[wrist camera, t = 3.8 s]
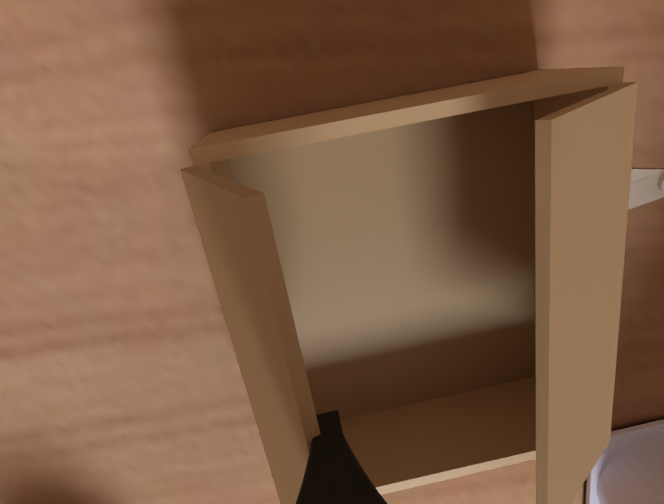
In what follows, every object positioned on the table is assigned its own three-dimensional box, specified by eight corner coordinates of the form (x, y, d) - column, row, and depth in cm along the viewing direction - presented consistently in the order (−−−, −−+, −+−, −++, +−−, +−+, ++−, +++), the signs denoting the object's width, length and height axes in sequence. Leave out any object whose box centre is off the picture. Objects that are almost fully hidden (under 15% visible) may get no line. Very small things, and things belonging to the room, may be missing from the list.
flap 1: (369, 643, 14) (359, 651, 14) (291, 507, 19) (283, 512, 19) (263, 193, 9) (245, 198, 9) (193, 165, 14) (180, 169, 14)
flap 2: (600, 436, 20) (610, 440, 20) (536, 534, 17) (546, 540, 16) (623, 82, 15) (638, 81, 14) (534, 120, 11) (551, 119, 11)
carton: (538, 376, 25) (598, 444, 20) (290, 431, 24) (294, 514, 20) (539, 69, 19) (624, 66, 14) (210, 131, 18) (188, 149, 14)
